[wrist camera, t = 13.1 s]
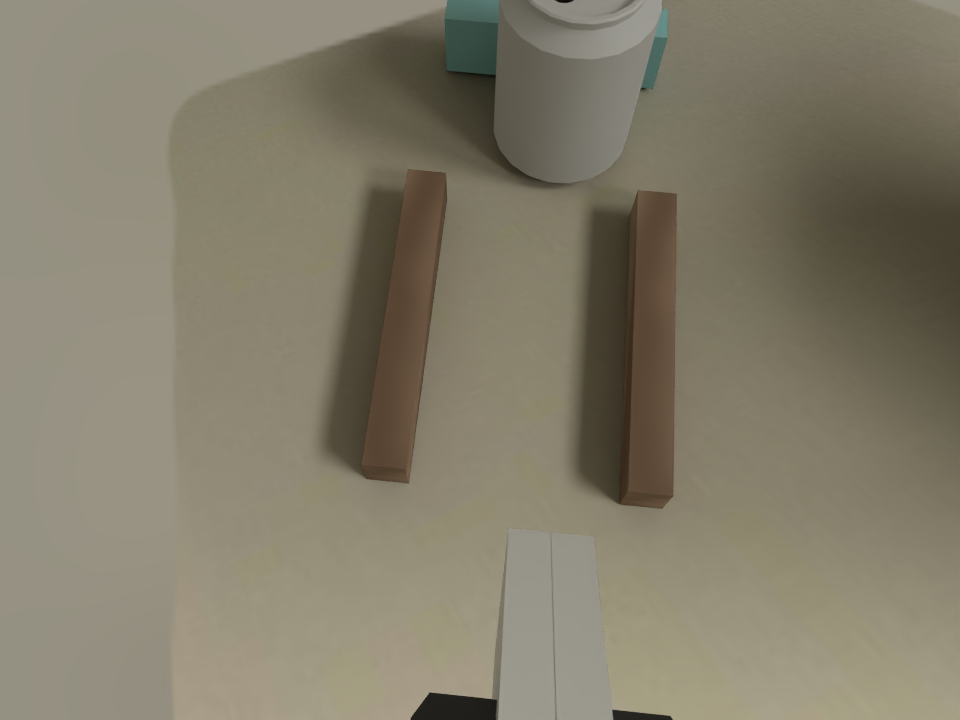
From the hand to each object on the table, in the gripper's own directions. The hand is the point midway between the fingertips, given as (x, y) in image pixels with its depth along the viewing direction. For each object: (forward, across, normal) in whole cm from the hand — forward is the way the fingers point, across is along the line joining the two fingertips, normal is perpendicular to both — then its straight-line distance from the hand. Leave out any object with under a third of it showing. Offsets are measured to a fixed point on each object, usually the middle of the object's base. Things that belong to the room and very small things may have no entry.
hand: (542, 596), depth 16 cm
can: (+38, +1, +3) cm, 38 cm away
